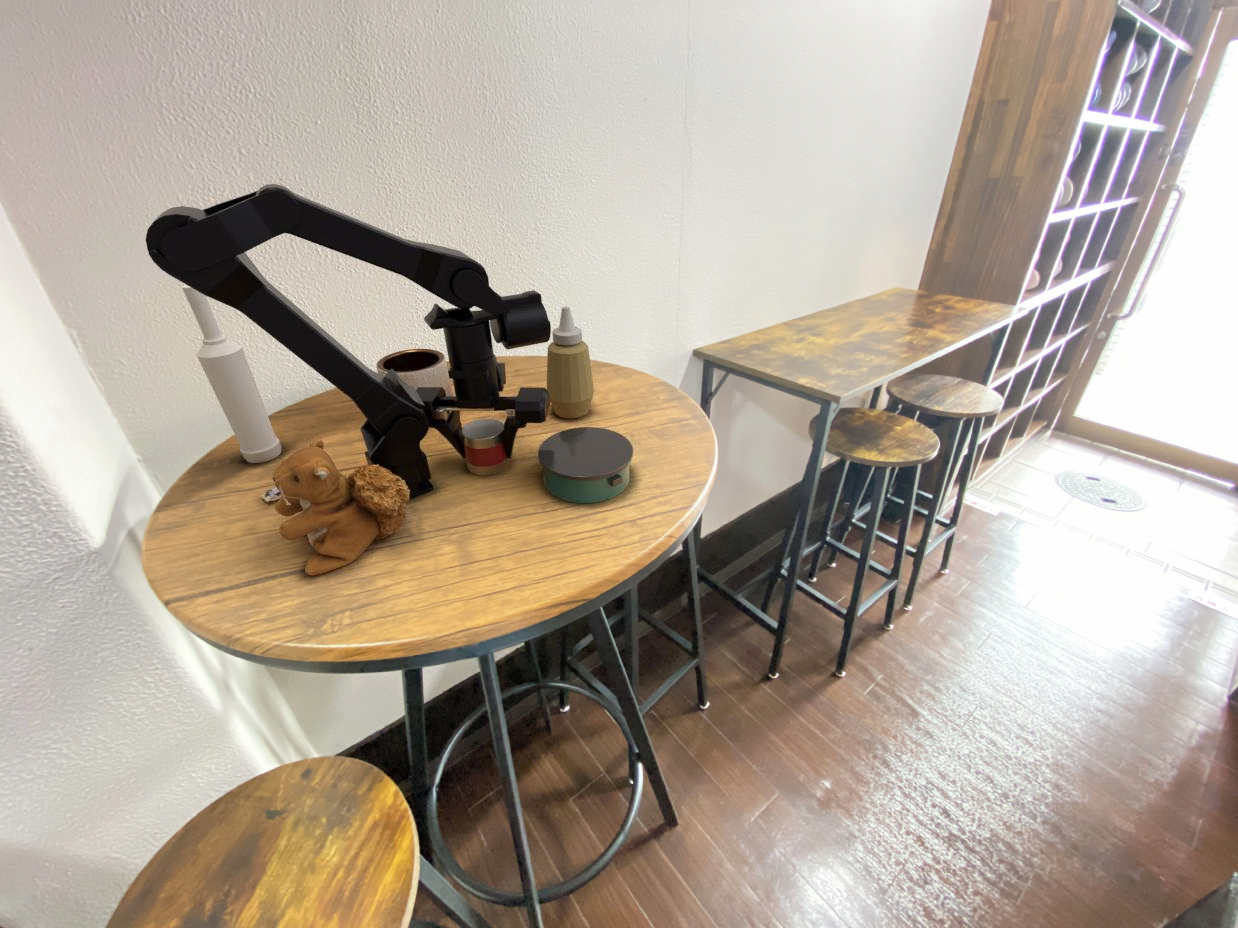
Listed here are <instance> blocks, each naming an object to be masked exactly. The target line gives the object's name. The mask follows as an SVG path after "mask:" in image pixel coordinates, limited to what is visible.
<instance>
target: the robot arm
mask: <svg viewBox="0 0 1238 928" xmlns="http://www.w3.org/2000/svg"><path fill="white" fill-rule="evenodd" d="M283 234H286V235H287V234H288V235H292V236H294V237H297V238H299V239H302V240H305V241H308V242H309V243H313V244H316V245H318V246H320V247H324V248H327V249H329V250H331V251H335V252H337V253H340V254H343V255H346V256H348V257H351V258H354V259H355V260H359V261H362V262H364V263H367V264H370V265H373V266H376V267H377V268H381V269H384V270H386V271H389V272H391V273H394V274H397V275H400V276H402V277H404V278H405V279H407V280H409V281H411V282H413V283H414V284H416V285H418V286H419V287H421V288H423V289H424V290H426V291H427V292H429V293H430V294H432V295H434V296H436V297H437V298H439V299H441V300H443V301H445V302H446V303H448V304H450V305H452V306H454V307H451V308H443V307H442V306H440V305H439V303H434V304H433V305H432V308H431V310H430V311H429V312H428V313H427V314H426V316H424V317H423V321H424V322H425V324H426V325H427V326H428V327H429V328H430V330H433V331H436V330H441V329H442V330H443V331H442V332H443V335H444V341H445V346H446V350H447V352H446V353H447V357H448V361H449V363H448V364H449V369H448V374H449V379H450V380H452V384H453V389H454V394H455V396H454V395H453V396H446V392H445V390H444V389H443V388H442V387H418V388H417V389H416V390H415V388H414V387H413V386H410V385H408V384H406V383H405V382H403V381H402V380H401V379H400V377H399V376H398V375H397V374H396V372H395V371H394V370H393V369H390V370H389V372H388V373H387V374H386V376H383V375H381V374H379V373H378V372H377V371H374V370H372V369H371V368H369V367H368V366H367V365H365V364H364V363H363V362H362V361H361V360H360V359H359V358H358V357H356V356H355V355H354V354H353V353H352V352H350V350H348V349H347V348H346V347H345V346H344V345H342V343H340V342H339V341H338V340H337V339H336V338H334V337H333V336H332V335H331V334H330V333H328V332H327V331H326V330H325V329H324V328H322V326H320V325H319V324H318V322H316V321H315V320H313V319H312V318H311V317H310V316H309V315H308V314H306V313H305V312H304V311H303V310H302V309H300V308H299V306H297V305H296V304H295V303H293V301H292V300H290V299H289V298H288V297H287V296H285V295H284V294H283V293H282V292H281V291H280V290H279V289H278V288H276V287H275V286H274V285H273V284H271V283H270V282H269V281H268V280H267V278H266V277H264V275H263V273H262V272H260V270H259V269H258V267H257V266H256V265H255V263H254V262H253V261H252V259H251V258H250V257H249V256H248V254H247V253H246V252H248V251H250V250H252V249H254V248H256V247H257V246H260V245H261V244H264V243H266V242H267V241H270V240H272V239H274V238H276V237H278V236H281V235H283ZM145 245H146V249H147V253H148V256H149V257H150V258H151V260H152V262H153V263H154V264H155V265H156V266H157V267H158V268H159V269H160V270H161V271H163V272H164V273H166V274H167V275H168V276H170V277H172V278H174V279H176V280H178V281H179V282H181V283H182V284H184V285H188V286H189V287H191V288H193V289H195V290H196V291H198V292H200V293H202V294H203V295H205V296H206V297H207V298H209V299H213V300H214V301H217V302H219V303H221V304H223V305H226V306H227V307H230V308H232V309H235V310H237V311H239V312H240V313H242V314H243V315H244V316H245V317H246V318H248V319H249V320H250V321H252V322H253V323H254V324H256V325H257V327H259V328H260V329H262V330H263V331H265V332H266V333H267V334H268V335H270V336H271V338H274V340H276V341H277V342H278V343H280V344H281V345H282V346H283V347H285V348H286V349H287V350H288V351H290V353H292V354H294V355H295V356H296V357H297V358H299V359H300V360H301V361H303V363H305V364H307V365H308V366H309V367H310V368H311V369H313V370H314V371H315V372H317V373H318V374H319V375H320V376H321V377H323V378H324V379H326V380H327V381H328V382H329V383H330V384H331V385H333V386H334V387H335V388H336V389H338V390H339V391H340V392H342V393H343V394H344V395H346V396H347V397H348V398H349V399H350V400H352V402H353V403H354V404H355V405H356V407H357V408H358V409H359V410H360V412H361V413H362V414H363V415H364V417H365V418H366V419H365V421H364V422H363V423H362V425H361V427H360V433H361V436H362V439H363V441H364V444H365V447H366V451H364V457H365V460H366V464H367V465H368V466H369V465H370V466H371V465H373V464H374V465H377V464H379V466H381V467H383V468H386V469H387V470H390V472H392V474H395V475H396V476H399V477H401V478H402V480H405V484H406V486H408V489H409V490H410V495H409V500H411V499H414V498H415V497H418V496H421V495H423V494H426V493H429V492H432V491H433V490H434V489H435V487H434V484H433V483H432V482H431V481H430V480H431V479H432V474H431V469H430V465H429V462H428V457H427V454H426V453H425V452H424V451H423V449H422V448H421V442H422V441H423V440H424V439H425V437H426V436H427V435H428V432H429V430H430V428H431V429H435V430H436V431H437V432H438V433H439V434H440V435H442V436H443V438H445V439H446V440H447V442H449V444H451V446H452V447H453V448H454V449H455V451H456V452H457V453H458V454H459V455H460V456H461V458H462V459H464V460H466V457H465V452H464V446H463V439H462V434H461V430H462V428H463V425H462V422H461V412H462V411H463V412H465V411H466V412H467V411H468V412H473V411H474V412H482V411H483V412H506V415H507V416H506V418H505V420H504V422H503V424H504V436H505V449H506V455H507V458H508V459H509V460H511V459H512V455H513V450H514V446H515V441H516V438H517V433H518V430H519V429H524V428H526V427H527V425H528V424H542V423H545V422H546V421H547V417H548V414H549V411H550V406H551V403H550V395H549V392H548V391H547V388H546V387H542V386H541V387H537V386H536V387H533V386H532V387H529V386H528V387H525V386H521V387H520V388H519V390H518V393H517V394H514V395H511V396H504V395H503V396H500V393H502V392H503V391H504V389H505V385H506V384H507V376H506V362H503V361H498V360H497V356H496V354H495V353H494V346H493V339H494V341H495V343H496V344H502V346H503V348H505V350H514V349H518V348H523V347H528V346H534V345H539V344H543V343H548V342H549V341H550V340H551V336H552V335H551V334H552V327H551V321H550V320H549V316H548V313H547V310H546V308H545V305H544V304H543V301H542V294H541V293H539V292H538V291H536V290H534V289H533V290H527V291H524V292H521V293H518V294H517V293H516V294H511V295H503V296H501V295H500V294H499V293H497V292H496V291H495V290H493V288H492V287H491V286H490V281H489V275H488V273H487V271H486V268H485V267H484V265H482V263H479V262H478V261H476V260H475V259H474V258H472V257H471V256H469V255H467V254H466V253H465V252H462V251H461V250H459V249H455V248H450V247H447V246H442V245H437V244H433V243H428V242H427V243H426V242H420V241H416V240H411V239H407V238H404V237H401V236H399V235H397V234H394V233H391V232H389V231H387V230H384V229H382V228H379V227H377V226H375V225H372V224H369V223H367V222H365V221H363V220H360V219H358V218H355V217H353V216H350V215H347V214H345V213H343V212H340V211H338V210H336V209H333V208H331V207H328V206H326V205H323V204H321V203H318V202H317V201H314V200H311V199H309V198H306V197H304V196H302V195H299V194H297V193H295V192H293V191H292V190H291V189H289V188H288V187H286V186H284V185H281V184H277V183H267V184H265V185H263V186H261V187H259V189H258V190H256V191H253V192H249V193H248V194H244V195H241V196H238V197H234V198H232V199H229V200H226V201H221V202H219V203H216V204H214V205H212V206H209V207H207V208H204V209H200V208H197V207H193V206H192V207H191V206H185V205H181V206H174V207H169V208H168V209H165V210H164V211H163V212H161V213H160V214H159V215H158V216H157V218H155V219H154V221H153V222H152V223H151V224H150V225H149V227H148V228H147V231H146V235H145ZM474 307H475V308H478V309H479V310H471V309H472V308H474Z"/></svg>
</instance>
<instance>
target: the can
mask: <svg viewBox="0 0 1238 928" xmlns="http://www.w3.org/2000/svg"><path fill="white" fill-rule="evenodd" d="M461 434H462V439H463V446H464V452H465V457H466V459H465V460H466V465H467V469H468V471H469V472H470V473H471V474H473V475H477V476H492V475H496V474H499V473H502V472H503V471H504V470H506V469H507V468H508V467H509V465H510V459H508V458H507V455H506V449H505V436H504V422H502V421H501V420H499V419H495V418H479V419H475V420H471V421H469V422H467V423H465V424H464V425H462V430H461Z"/></svg>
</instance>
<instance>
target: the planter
mask: <svg viewBox="0 0 1238 928" xmlns="http://www.w3.org/2000/svg"><path fill="white" fill-rule="evenodd" d="M375 364H376V370H377V371H376V372H377V373H379V374H381V375H383V376H386V374H387V373H388V372H389V370H390V369H393V370H394V371H395V372H396V374H397V375H398V376H399V377H400V379H401V380H402V381H403V382H405V383H406V384H408V385H410V386H413V387H414V388H415V390H416V389H417V388H418V387H442V388H443V389H444V390H445V392H446V396H454V393H453V389H452V384H451V379H449V374H448V371H449V369H448V365H447V359H446V355H445V354H444V353H443V352H442V351H439V350H436V349H431V348H411V349H410V348H409V349H404V350H399V351H395V352H392V353H389V354H386V355H385V356H383V357H381V358H380V359H379V360H378V361H377V362H376V363H375Z"/></svg>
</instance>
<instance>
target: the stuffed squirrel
mask: <svg viewBox="0 0 1238 928" xmlns="http://www.w3.org/2000/svg"><path fill="white" fill-rule="evenodd" d="M324 447H325V443H324V441H323V440H322V439H320V438H317V439H314V440H313V441H311V443H310V444H309V446H306V447H303V448H300V449H298V450H296V451H294V452H293V453H292V454H290V455H289V456H288V457H286V458H285V459H284V460H282V462H280V464H279V465H278V466H277V467H276V468H275V469H274V471H273V473H272V481H273V483H274V485H275V487H277V489H278V490H279V492H280V493H281V496H282V497H280V499H277V500H278V501H276V503H274V509H275V511H276V512H277V513H278V514H279V515H281V516H283V517H290V518H288V519H286V520H284V521H282V523H281V524H280V525H279V528H278V533H279V535H280V537H282V538H283V540H287V541H294V540H298V539H301V538H302V537H304V536H306V535H307V539H308V542H309V543H310V545H311V546H312V547H313V548H314V550H316V553H314V554H313V555H312V556H311V557H310V558H309V559H308V561H307V563H306V565H305V567H304V571H305V573H306V574H307V575H308V576H311V577H313V576H318V575H322V574H325V573H328V572H330V571H331V572H332V571H333V570H337V569H340V568H342V567H344V566H347V565H349V564H351V563H352V562H354V561H355V560H357V559H358V558H359V557H360V555H361V556H362V554H363V553H364V552H365V550H367V548H368V547H369V546H370V545H371V544H372V542H373V541H374V540H375V541H378V540H382V539H385V538H387V537H389V536H391V535H393V534H395V533H397V532H398V531H399V530H400V528H401V527H402V526H403V525H404V524H405V518H406V514H408V513H407V512H408V511H406V505H407V504H408V503H407V502H409V501H410V499H409V495H410V490H409V489H408V486H406V484H405V480H402V478H401V477H399V476H396V475H395V474H392V472H390V470H387V469H386V468H383V467H381V466H379V464H377V465H374V464H373V465H371V466H370V465H369V466H368V464H366V465H362V466H359V467H357V468H356V469H355V470H353V472H352V473H350V475H349V476H345V475H344V474H342V473H340V472H339V470H338V468H337V466H336V465H335V462H334V460H333V459H332V457H331V456H330V454H328V453H327V451H326V450H325V449H324Z"/></svg>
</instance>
